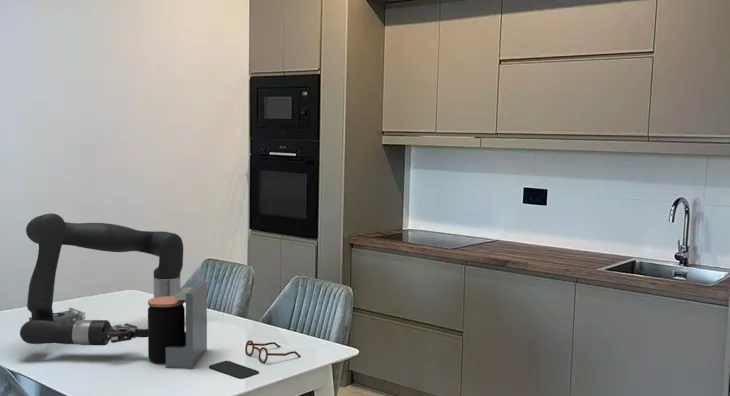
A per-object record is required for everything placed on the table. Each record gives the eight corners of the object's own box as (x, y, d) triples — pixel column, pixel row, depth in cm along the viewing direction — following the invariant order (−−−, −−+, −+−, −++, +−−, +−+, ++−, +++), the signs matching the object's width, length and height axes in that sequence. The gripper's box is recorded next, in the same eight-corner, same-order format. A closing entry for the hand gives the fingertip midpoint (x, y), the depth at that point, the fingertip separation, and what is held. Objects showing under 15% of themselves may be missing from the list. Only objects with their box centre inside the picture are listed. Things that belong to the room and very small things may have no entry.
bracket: (165, 368, 198) (164, 293, 197) (181, 349, 216) (181, 280, 215) (192, 368, 198) (192, 293, 197) (206, 349, 216) (206, 281, 215)
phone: (240, 378, 190) (206, 365, 199) (240, 381, 190) (206, 368, 200) (261, 371, 196) (227, 360, 205) (261, 374, 196) (227, 362, 205)
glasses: (244, 355, 213) (244, 339, 213) (280, 347, 221) (280, 332, 221) (265, 366, 203) (265, 349, 203) (302, 358, 211) (302, 342, 211)
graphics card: (71, 306, 258) (85, 311, 250) (72, 316, 258) (85, 321, 250) (24, 314, 246) (37, 319, 238) (25, 324, 246) (37, 330, 238)
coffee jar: (192, 356, 209) (192, 298, 208) (167, 366, 200) (167, 305, 198) (165, 351, 214) (165, 294, 213) (140, 360, 205) (139, 301, 203)
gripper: (82, 326, 200) (141, 326, 200) (99, 314, 213) (155, 315, 213) (82, 351, 200) (142, 352, 200) (100, 338, 213) (156, 339, 213)
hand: (149, 333), depth 207 cm, fingers closed
